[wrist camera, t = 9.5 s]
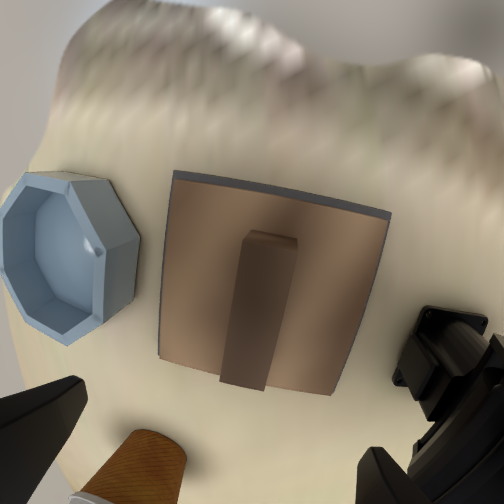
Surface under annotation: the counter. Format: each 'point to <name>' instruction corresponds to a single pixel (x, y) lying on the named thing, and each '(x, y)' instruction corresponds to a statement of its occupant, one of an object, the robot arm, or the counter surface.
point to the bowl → (67, 252)
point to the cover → (264, 286)
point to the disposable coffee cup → (137, 473)
